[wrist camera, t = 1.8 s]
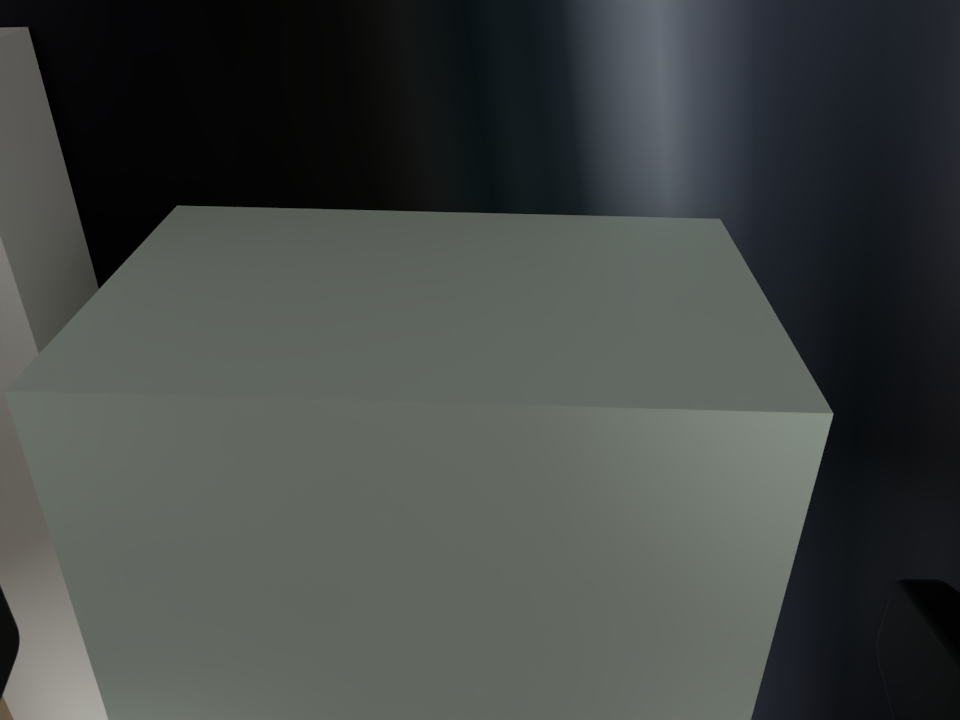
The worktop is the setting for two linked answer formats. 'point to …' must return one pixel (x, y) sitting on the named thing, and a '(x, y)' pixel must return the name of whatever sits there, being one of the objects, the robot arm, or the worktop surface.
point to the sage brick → (424, 468)
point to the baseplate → (4, 356)
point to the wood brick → (4, 711)
